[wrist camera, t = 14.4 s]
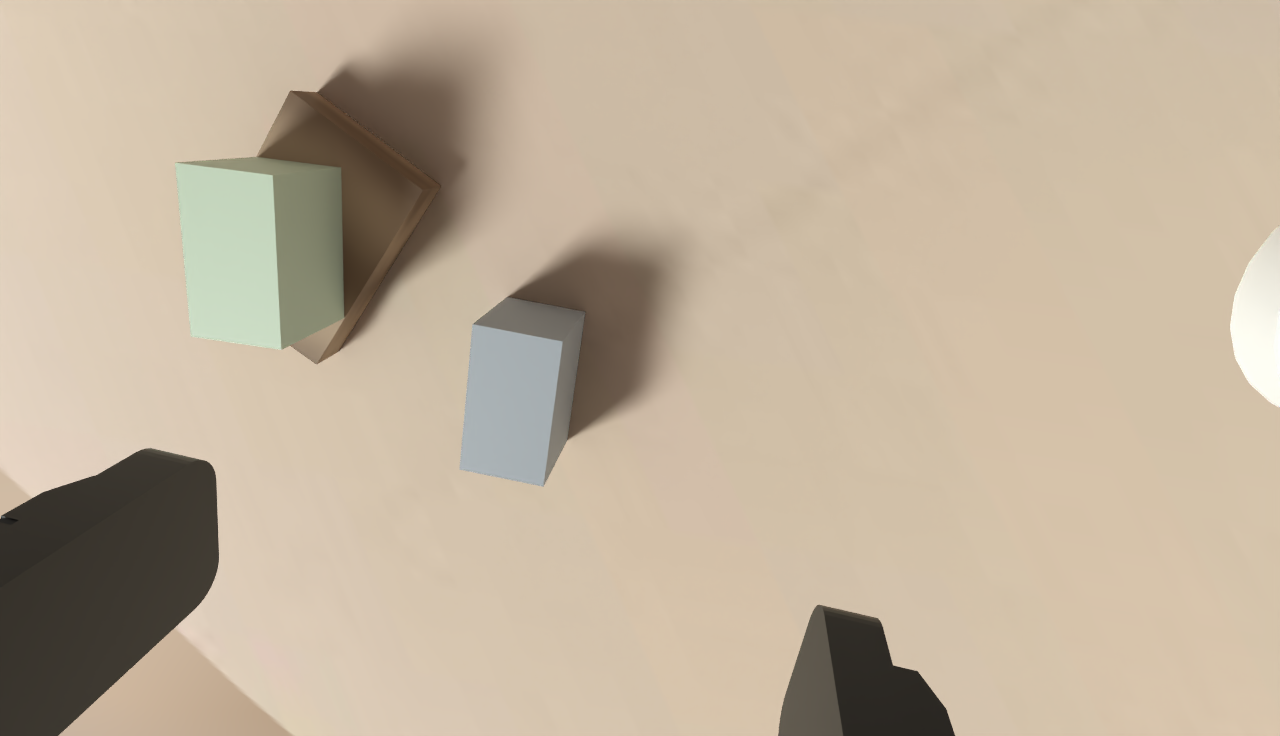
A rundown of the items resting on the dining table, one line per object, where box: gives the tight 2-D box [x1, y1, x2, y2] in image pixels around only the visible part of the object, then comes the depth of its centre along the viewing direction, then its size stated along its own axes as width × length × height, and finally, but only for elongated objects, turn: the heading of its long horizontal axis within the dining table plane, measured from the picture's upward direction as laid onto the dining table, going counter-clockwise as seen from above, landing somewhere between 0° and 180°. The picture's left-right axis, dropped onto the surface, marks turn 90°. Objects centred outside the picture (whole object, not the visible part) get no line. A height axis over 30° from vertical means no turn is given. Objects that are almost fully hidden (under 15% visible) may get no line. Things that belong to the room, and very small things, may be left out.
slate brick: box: [460, 297, 585, 486], centre depth 40 cm, size 8×4×6 cm, turn 171°
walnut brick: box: [257, 91, 441, 364], centre depth 41 cm, size 12×8×3 cm, turn 144°
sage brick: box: [175, 157, 344, 350], centre depth 36 cm, size 8×4×6 cm, turn 174°
